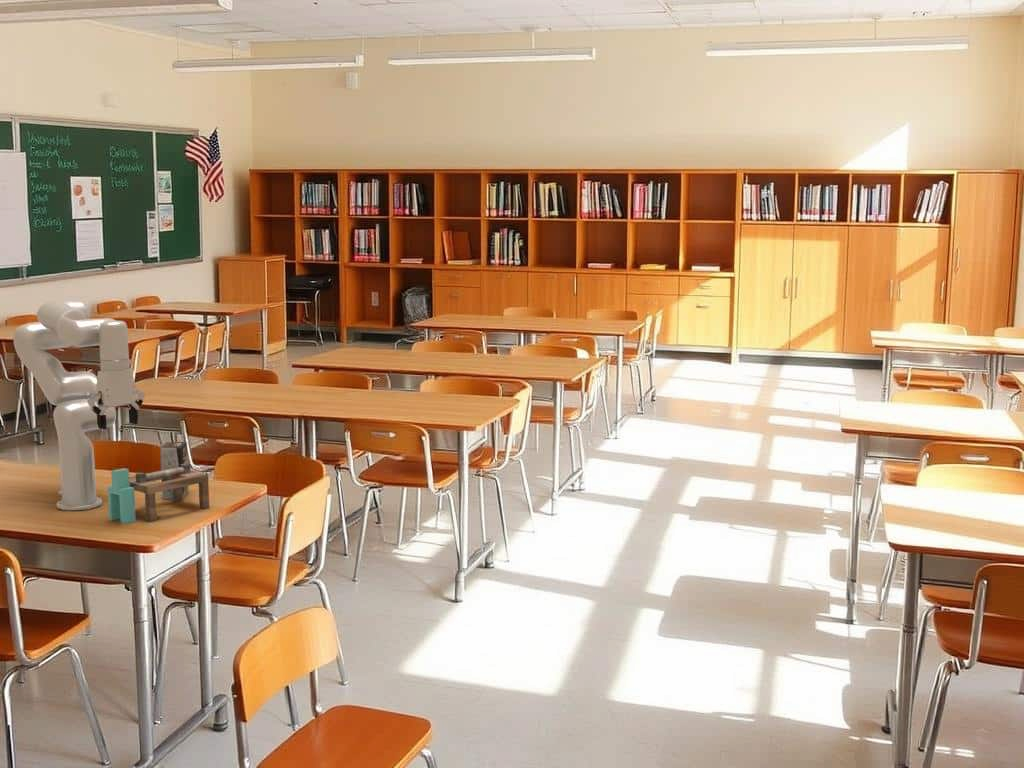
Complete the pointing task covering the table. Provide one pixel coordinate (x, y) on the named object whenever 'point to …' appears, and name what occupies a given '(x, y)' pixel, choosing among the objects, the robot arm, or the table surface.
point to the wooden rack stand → (169, 486)
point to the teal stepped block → (121, 497)
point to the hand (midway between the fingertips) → (118, 426)
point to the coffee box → (173, 462)
